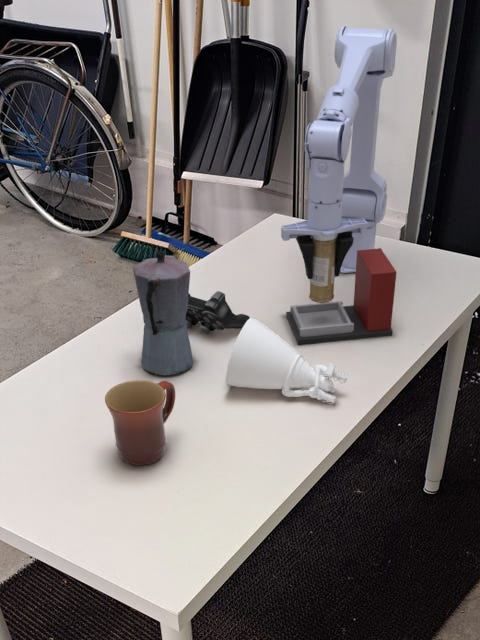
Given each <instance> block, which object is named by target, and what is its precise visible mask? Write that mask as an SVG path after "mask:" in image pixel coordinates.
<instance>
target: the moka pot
mask: <svg viewBox="0 0 480 640" xmlns="http://www.w3.org/2000/svg"><path fill="white" fill-rule="evenodd" d="M155 255H156V257H152V258H146V259H144V260H142V261H140V262H137V263H136V264H135V265H133V266H132V272H133V276H134V281H135V286H136V290H137V295H138V300H139V306H140V309H141V313H142V318H143V319H142V321H143V324H144V325H143V334H142V335H143V336H142V350H141V351H142V352H141V366H142V368H143V369H144V370H145V371H147V372H148V373H151V374H154V375H158V376H171V375H176V374H180V373H182V372H183V373H184V372H185V371H187V370H189V369H190V368H191V367H192V365H193V361H194V359H193V353H192V346H191V342H190V335H189V331H188V328H187V324H186V322H185V321H186V313H187V309H188V294H190V283H191V282H190V280H191V270H190V267H189V265H188V263H187V261H185V260H181V259H177V258H176V257H175V255H167V254H166V251H163V250H157V251H156V252H155Z"/></svg>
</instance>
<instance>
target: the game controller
mask: <svg viewBox="0 0 480 640" xmlns="http://www.w3.org/2000/svg"><path fill="white" fill-rule="evenodd" d="M250 318H251V316H250V315H247V314H244V313H239V314H235V313H233V311H232V309H231V307H230V305H229V304H228V301H226V294H225V293H223V291H218V290H217V291H215V292H214V293H213V294H212V295H211V296H210V298H209V299H208V300H205V299H201V298H199V297H195V296H193V295H191V294H190V293H189V294H188V309H187V313H186V321H185V322H186V324H187V329H192V328H193V327H196V326H198V324H200V325H199V330H200V332H201V333H203V334H205V335H210V334H211V333H213V332H215V330H218V331H224V330H242V328H243V326H244V325H245V323H246V322H247V320H248V319H250Z"/></svg>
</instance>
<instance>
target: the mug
mask: <svg viewBox="0 0 480 640" xmlns="http://www.w3.org/2000/svg"><path fill="white" fill-rule="evenodd" d="M175 401H176V388H175V385H174V384H173V383H172V382H171V381H167V380H161V381H159V382H154V381H151V380H143V379H142V380H141V379H135V380H128V381H124V382H121V383H118V384H116V385H114V386H113V387H111V388H110V389H109V390H108V391H107V392H106V393H105V396H104V402H105V405H106V407H107V409H108V411H109V412H110V415H111V417H112V421H113V429H114V430H113V431H114V439H115V446H116V449H117V452H118V454H119V457H120V459H122V460H123V461H124V462H126V463H128V464H131V465H136V466H144V465H145V466H146V465H150V464H152V463H155V462H156V461H158V460H159V459H161V458H162V457H163V456H164V454H165V451H166V445H167V442H166V441H167V437H166V430H165V424H166V422H167V421H168V419H169V417H170V416H171V414H172V413H173V409H174V406H175V403H176V402H175Z"/></svg>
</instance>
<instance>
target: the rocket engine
mask: <svg viewBox="0 0 480 640" xmlns="http://www.w3.org/2000/svg"><path fill="white" fill-rule="evenodd" d="M336 368H337V364H335V363H334V362H332V361H329V363H328V365H327V366H326V365H325V364H315V366H314V368H313V367H312V366H311V364H310V363H309V362H307V361H306V358H304V357H303V354H302V353H299V352H298V351H296V350H295V349H294V347H293V346H292V345H290V344H289V343H288V342H287V341H285V340H284V339H283V338H282V337H281V336H280V335H278V334H277V333H276V332H274V331H273V330H272V329H271V328H269V327H267V325H265V324H263V323H262V322H261V321H259V320H257V319H255V318H254V317H250V319H248V320H247V322H246V323H245V325H244V326H243V328H242V329H240V332H239V334H238V336H237V338H236V340H235V343H234V345H233V347H232V351H231V353H230V356H229V359H228V363H227V369H226V373H225V383H226V385H227V386H231V387H237V388H246V389H259V390H281V393H282V395H283V396H284V397H288V398H292V397H294V398H300V397H302V396H303V397H304V396H305V397H306V396H309V397H310V398H311V399H316V400H319V401H322V403H325V402H326V403H328V405H334V403H335V401H336V399H337V396H336V395H334V394H332V393H335V391H336V389H335V384H334V382H337V381H338V382H339V383H340V384H345V383H346V382H347V380H348V377H349V375H348V374H345V373H343V372H340V371H339V370H335V369H336ZM333 380H334V381H333ZM302 388H307V389H304V390H302ZM308 388H309V389H308ZM292 389H293V390H292ZM328 392H329V393H328Z"/></svg>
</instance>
